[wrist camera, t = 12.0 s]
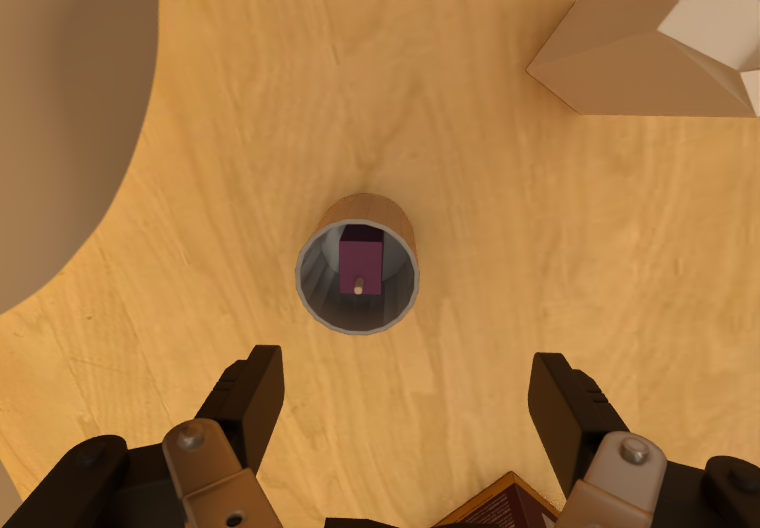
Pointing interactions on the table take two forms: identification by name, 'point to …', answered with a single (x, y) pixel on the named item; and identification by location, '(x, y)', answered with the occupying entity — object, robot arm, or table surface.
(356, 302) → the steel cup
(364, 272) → the juice box
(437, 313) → the table surface
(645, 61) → the milk
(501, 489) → the supplement box
